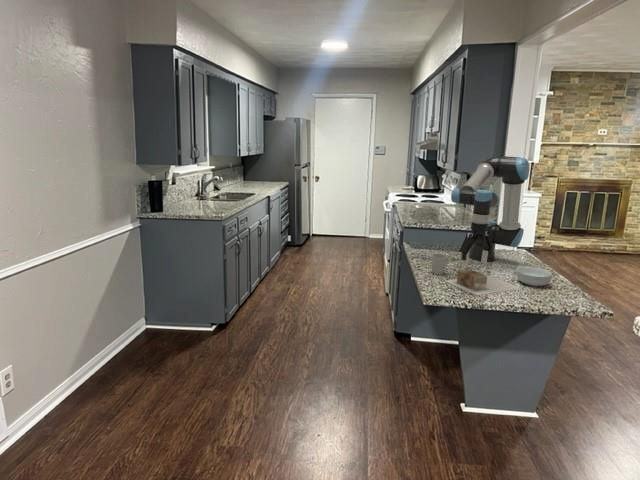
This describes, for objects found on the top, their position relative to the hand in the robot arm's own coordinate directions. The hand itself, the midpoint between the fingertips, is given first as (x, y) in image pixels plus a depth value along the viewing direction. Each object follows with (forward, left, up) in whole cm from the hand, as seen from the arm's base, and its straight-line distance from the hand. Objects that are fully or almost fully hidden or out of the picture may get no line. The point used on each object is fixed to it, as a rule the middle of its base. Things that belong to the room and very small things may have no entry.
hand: (474, 264), depth 219 cm
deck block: (0, 0, -11) cm, 11 cm away
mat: (-8, 0, -11) cm, 14 cm away
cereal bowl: (-35, +9, -12) cm, 38 cm away
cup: (+1, -22, -12) cm, 25 cm away
